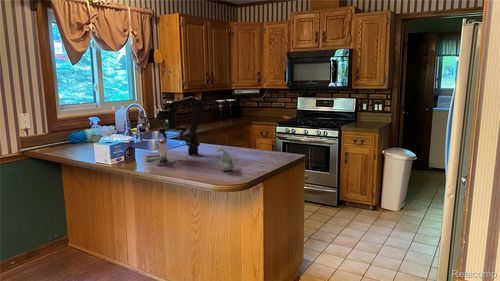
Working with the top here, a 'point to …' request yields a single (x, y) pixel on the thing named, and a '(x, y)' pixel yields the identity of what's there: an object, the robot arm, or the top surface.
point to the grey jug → (226, 160)
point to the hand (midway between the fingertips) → (173, 141)
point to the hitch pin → (163, 150)
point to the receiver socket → (163, 162)
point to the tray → (152, 158)
